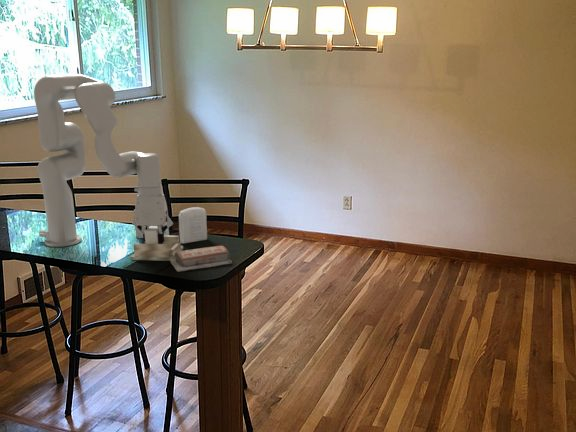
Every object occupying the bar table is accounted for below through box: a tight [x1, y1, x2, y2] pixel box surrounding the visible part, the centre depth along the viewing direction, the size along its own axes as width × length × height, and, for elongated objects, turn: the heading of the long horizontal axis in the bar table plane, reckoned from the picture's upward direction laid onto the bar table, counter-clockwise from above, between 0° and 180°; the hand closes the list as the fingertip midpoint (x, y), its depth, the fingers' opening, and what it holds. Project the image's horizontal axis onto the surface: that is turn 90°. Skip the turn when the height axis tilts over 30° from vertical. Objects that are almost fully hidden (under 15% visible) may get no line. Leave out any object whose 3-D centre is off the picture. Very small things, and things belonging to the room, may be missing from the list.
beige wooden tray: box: [130, 234, 184, 262], centre depth 202 cm, size 14×13×5 cm
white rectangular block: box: [144, 226, 159, 244], centre depth 201 cm, size 4×6×6 cm, turn 173°
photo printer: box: [178, 206, 208, 244], centre depth 215 cm, size 10×4×12 cm, turn 123°
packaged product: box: [169, 245, 233, 273], centre depth 193 cm, size 18×5×10 cm
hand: (154, 243), depth 202 cm, fingers closed on white rectangular block, 4 cm apart
